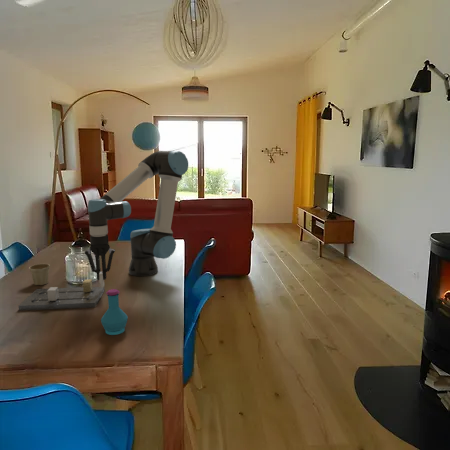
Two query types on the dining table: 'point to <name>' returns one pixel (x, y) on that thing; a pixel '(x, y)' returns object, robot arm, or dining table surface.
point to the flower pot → (40, 273)
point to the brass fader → (87, 285)
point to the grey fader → (53, 294)
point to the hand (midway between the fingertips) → (102, 286)
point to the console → (63, 299)
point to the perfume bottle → (114, 315)
